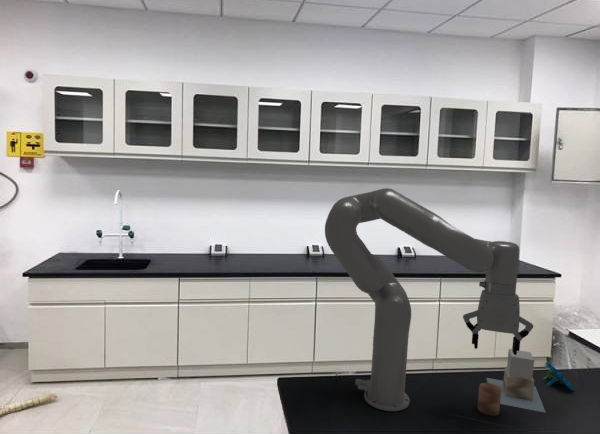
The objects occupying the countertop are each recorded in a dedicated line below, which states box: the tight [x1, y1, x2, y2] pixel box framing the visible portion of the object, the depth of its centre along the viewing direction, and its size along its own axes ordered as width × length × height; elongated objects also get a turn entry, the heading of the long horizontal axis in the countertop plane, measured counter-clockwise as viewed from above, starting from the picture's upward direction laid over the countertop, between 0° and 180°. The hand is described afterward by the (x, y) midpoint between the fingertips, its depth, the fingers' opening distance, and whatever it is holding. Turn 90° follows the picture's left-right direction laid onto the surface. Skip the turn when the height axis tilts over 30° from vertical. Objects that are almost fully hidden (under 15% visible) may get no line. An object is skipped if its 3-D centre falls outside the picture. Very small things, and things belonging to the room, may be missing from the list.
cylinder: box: [477, 382, 501, 417], centre depth 121 cm, size 6×6×7 cm
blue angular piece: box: [542, 361, 575, 391], centre depth 138 cm, size 11×6×10 cm
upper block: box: [506, 348, 535, 380], centre depth 131 cm, size 6×6×6 cm
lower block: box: [502, 366, 535, 401], centre depth 132 cm, size 7×7×6 cm
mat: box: [486, 377, 547, 413], centre depth 132 cm, size 14×16×1 cm
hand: (494, 349), depth 120 cm, fingers open, 9 cm apart
